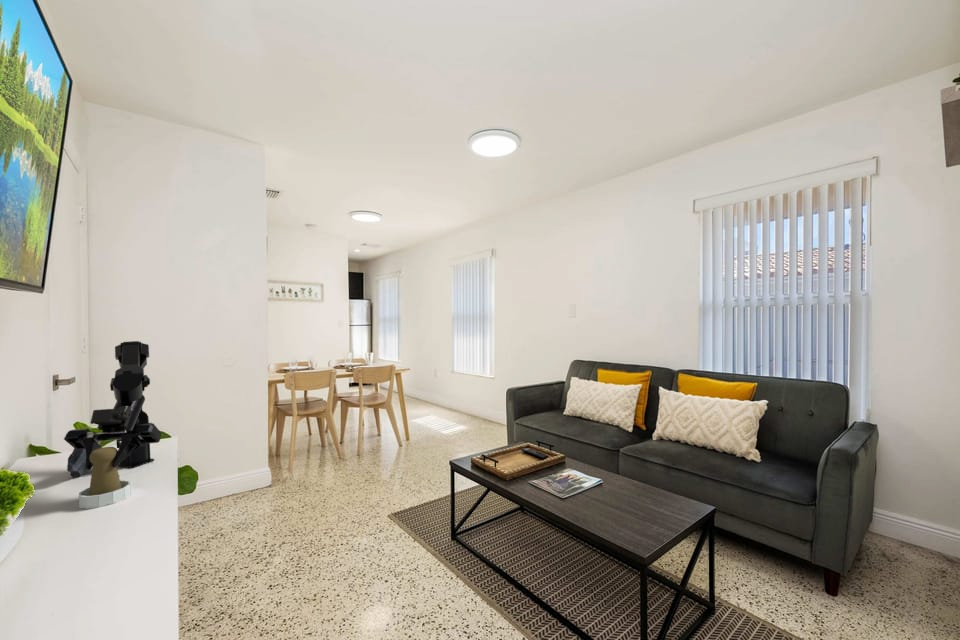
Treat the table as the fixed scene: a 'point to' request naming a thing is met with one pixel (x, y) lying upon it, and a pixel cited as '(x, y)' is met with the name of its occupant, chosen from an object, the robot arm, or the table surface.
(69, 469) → the stone
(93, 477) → the cork
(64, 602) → the table surface
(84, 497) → the bowl
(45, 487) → the table surface
